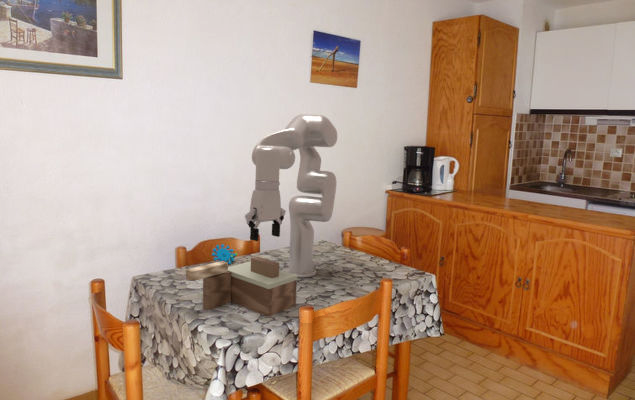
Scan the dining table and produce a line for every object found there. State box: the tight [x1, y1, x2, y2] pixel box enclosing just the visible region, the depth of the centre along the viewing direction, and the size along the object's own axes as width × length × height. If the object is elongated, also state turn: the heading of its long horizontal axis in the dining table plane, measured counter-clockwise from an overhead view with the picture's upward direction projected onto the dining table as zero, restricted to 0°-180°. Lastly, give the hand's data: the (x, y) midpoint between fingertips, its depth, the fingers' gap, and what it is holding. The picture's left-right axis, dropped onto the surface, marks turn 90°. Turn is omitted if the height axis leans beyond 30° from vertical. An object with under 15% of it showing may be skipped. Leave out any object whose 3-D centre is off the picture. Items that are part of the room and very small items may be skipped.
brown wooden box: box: [202, 271, 298, 318], centre depth 154 cm, size 22×22×10 cm
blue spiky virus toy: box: [211, 243, 238, 265], centre depth 201 cm, size 11×6×10 cm
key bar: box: [185, 261, 229, 282], centre depth 150 cm, size 14×3×3 cm, turn 141°
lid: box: [228, 256, 298, 289], centre depth 157 cm, size 13×22×6 cm, turn 51°
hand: (265, 238), depth 153 cm, fingers open, 9 cm apart
